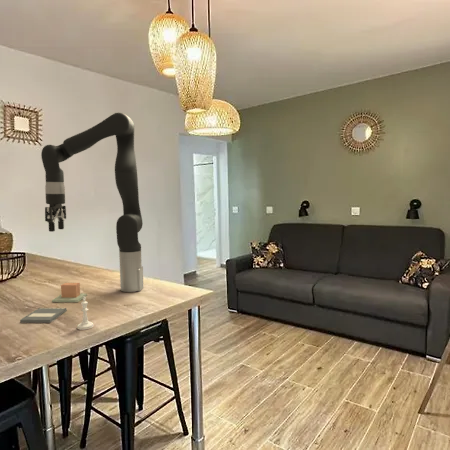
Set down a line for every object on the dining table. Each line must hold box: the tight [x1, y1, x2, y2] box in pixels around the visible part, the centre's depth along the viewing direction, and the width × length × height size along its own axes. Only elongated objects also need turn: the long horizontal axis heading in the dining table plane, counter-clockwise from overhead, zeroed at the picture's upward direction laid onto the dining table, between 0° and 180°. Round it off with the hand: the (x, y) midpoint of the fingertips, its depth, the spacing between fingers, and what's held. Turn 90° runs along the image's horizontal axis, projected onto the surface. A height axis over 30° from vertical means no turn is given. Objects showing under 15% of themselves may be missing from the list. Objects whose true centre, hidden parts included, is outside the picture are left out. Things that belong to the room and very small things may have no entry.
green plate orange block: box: [51, 282, 88, 303], centre depth 140 cm, size 10×9×6 cm
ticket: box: [19, 307, 68, 324], centre depth 121 cm, size 10×12×1 cm
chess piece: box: [76, 296, 95, 331], centre depth 112 cm, size 5×5×10 cm
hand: (56, 230), depth 152 cm, fingers open, 8 cm apart
